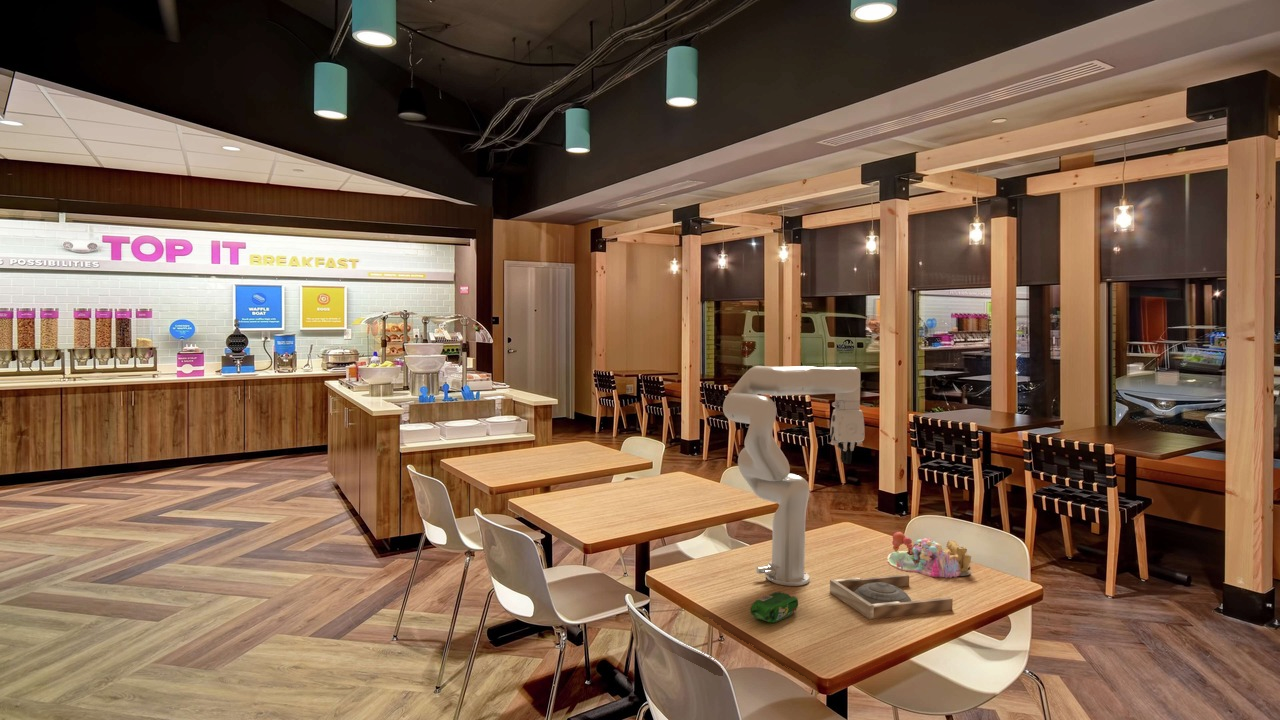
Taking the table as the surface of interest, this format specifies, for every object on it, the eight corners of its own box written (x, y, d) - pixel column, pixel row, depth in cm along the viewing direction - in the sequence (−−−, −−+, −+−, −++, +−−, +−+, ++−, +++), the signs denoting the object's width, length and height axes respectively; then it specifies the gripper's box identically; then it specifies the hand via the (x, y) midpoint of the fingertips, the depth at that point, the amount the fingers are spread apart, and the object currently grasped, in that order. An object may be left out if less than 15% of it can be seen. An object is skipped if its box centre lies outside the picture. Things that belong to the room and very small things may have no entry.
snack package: (744, 621, 178) (745, 601, 177) (780, 605, 189) (780, 586, 188) (767, 631, 173) (768, 610, 172) (802, 613, 184) (803, 593, 183)
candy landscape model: (957, 556, 232) (958, 528, 232) (984, 581, 209) (984, 550, 208) (879, 553, 235) (880, 525, 235) (897, 577, 212) (898, 547, 211)
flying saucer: (847, 592, 199) (847, 573, 199) (900, 593, 198) (901, 574, 198) (861, 613, 184) (862, 592, 184) (919, 614, 183) (920, 594, 183)
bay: (869, 619, 180) (869, 605, 179) (829, 591, 198) (830, 579, 198) (952, 609, 186) (952, 597, 186) (906, 584, 205) (906, 572, 205)
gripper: (832, 407, 217) (831, 466, 218) (874, 406, 221) (873, 464, 222) (820, 404, 224) (819, 461, 225) (861, 404, 228) (860, 459, 229)
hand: (846, 462), depth 223 cm, fingers closed
